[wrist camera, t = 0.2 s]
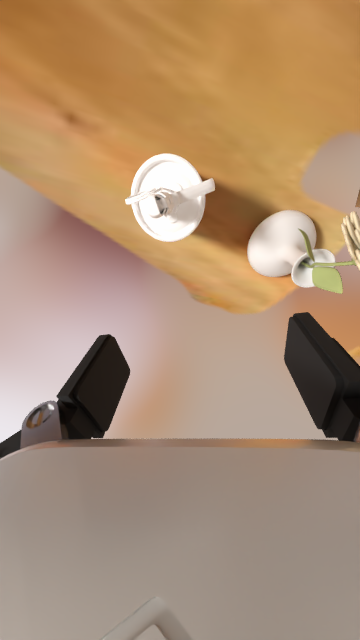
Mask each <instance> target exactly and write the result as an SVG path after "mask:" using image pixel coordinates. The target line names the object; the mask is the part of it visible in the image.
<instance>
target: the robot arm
mask: <svg viewBox="0 0 360 640" xmlns="http://www.w3.org/2000/svg"><path fill="white" fill-rule="evenodd" d="M284 360H285V364H286V366H287V368H288V370H289V372H290V374H291V376H292V378H293V380H294V382H295V384H296V386H297V388H298V390H299V392H300V394H301V396H302V398H303V400H304V403H305V405H306V407H307V408H308V411H309V413H310V415H311V417H312V419H313V421H314V423H315V425H316V426H317V428H318V429H322V430H323V432H324V434H325V436H326V438H327V437H329V438H332V437H333V438H334V437H335V438H338V440H339V441H336V440H308V439H91V437H93V438H103V436H104V434H105V431H107V430H108V429H109V427H110V424H111V421H112V419H113V416H114V414H115V411H116V408H117V406H118V403H119V401H120V398H121V396H122V393H123V390H124V388H125V385H126V383H127V380H128V378H129V375H130V368H129V366H128V364H127V362H126V360H125V358H124V356H123V354H122V352H121V350H120V348H119V346H118V343H117V341H116V339H115V338H114V337H112V336H111V335H109V334H108V335H100V336H99V337H98V338H97V339H96V341H95V342H94V344H93V345H92V346H91V348H90V350H89V351H88V352H87V354H86V355H85V357H84V358H83V359H82V361H81V362H80V364H79V365H78V366H77V368H76V369H75V371H74V372H73V373H72V375H71V376H70V378H69V379H68V380H67V382H66V383H65V385H64V386H63V388H62V389H61V390H60V392H59V393H58V395H57V398H58V399H59V400H58V401H57V402H55V401H47V402H44V403H42V404H40V405H38V406H37V407H35V408H34V409H33V410H32V411H31V412H30V413H29V414H28V415H27V416H26V418H25V420H24V421H23V424H22V430H20V431H19V432H17V433H15V434H14V435H12V436H11V437H9V438H8V439H6V440H5V441H3V442H2V443H0V640H360V366H359V365H358V364H357V363H356V361H355V360H354V359H353V358H352V357H351V356H350V355H349V354H348V353H347V352H346V350H345V349H344V348H343V347H342V346H341V345H340V344H339V343H338V342H337V341H336V340H335V339H334V338H331V337H330V336H329V335H328V334H327V333H326V332H325V330H324V329H323V328H322V327H321V326H320V325H319V324H318V322H317V321H316V320H315V319H314V318H313V317H312V316H311V315H310V313H308V312H306V313H296V314H294V315H293V317H290V318H289V324H288V331H287V340H286V347H285V355H284Z"/></svg>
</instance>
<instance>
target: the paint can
mask: <svg viewBox="0 0 360 640" xmlns="http://www.w3.org/2000/svg"><path fill="white" fill-rule="evenodd" d="M212 191H215V183H214V180H213V178H211V179H209V180H206V181H203V182H202V180H201V177H200V175H199V174H198V172H197V170H196V169H195V168H194V167H193V165H192V164H191V163H189V162H188V161H187V160H186V159H184V158H182V157H180V156H178V155H174V154H159V155H156V156H154V157H152V158H150V159H148V160H147V161H146V162H145V163H144V164H143V165H142V166H141V167H140V168H139V170H138V172H137V173H136V175H135V178H134V180H133V184H132V189H131V196H130V197H128V198H126V199H125V201H126V204H127V205H129V204H132V208H133V212H134V215H135V217H136V219H137V221H138V223H139V224H140V226H141V227H142V228H143V230H144V231H145V232H146V233H148V234H149V235H150V236H152V237H153V238H155V239H158V240H161V241H165V242H174V241H179V240H181V239H184V238H185V237H187V236H189V235H190V234H191V233H192V232H193V231H194V230H195V229H196V228H197V226H198V225H199V223H200V221H201V219H202V216H203V213H204V209H205V194H207V193H210V192H212Z"/></svg>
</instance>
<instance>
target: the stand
mask: <svg viewBox="0 0 360 640" xmlns="http://www.w3.org/2000/svg"><path fill="white" fill-rule="evenodd" d="M356 207H360V190H359V194H358V198H357V203H356Z"/></svg>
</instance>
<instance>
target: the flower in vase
mask: <svg viewBox="0 0 360 640" xmlns="http://www.w3.org/2000/svg"><path fill="white" fill-rule="evenodd" d="M341 228H342V232H343V235H344V238H345V242H346V245H347V248H348V251H349V253H350V256H351V257H352V261H348V262H336V261H335V257H334V255H333V253H331V252H330V251H329V250H326V249H315V250H314V247H315V244H316V229H315V226H314V224H313V222H312V220H311V219H310V218H309V217H308V216H307V215H306V214H304V213H302V212H300V211H296V210H285V211H280V212H277V213H275V214H273V215H271V216H269V217H267V218H266V219H265V220H263V221H262V222H261V223H260V224H259V225H258V226H257V228H256V229H255V230H254V232H253V234H252V235H251V238H250V240H249V243H248V249H247V255H248V260H249V263H250V265H251V266H252V268H253V269H254V270H255V271H256V272H258V273H259V274H261V275H264V276H268V277H280V276H285V275H288V274H290V273H291V276H292V280H293V281H294V283H295V284H296V285H298V286H300V287H314V286H316V287H318V288H321V289H324V290H327V291H332V292H336V293H340V294H342V293H343V286H342V280H341V276H340V274H339V272H338V271H337V270H336V269H335V266H344V265H355V266H357V267H358V269H359V271H360V220H359V217H358V215H357V213H356V212H355V211H354V212H351V214H350V217H349V216H348V215H346V218H345V217H344V218H343V223H342V224H341Z"/></svg>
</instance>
